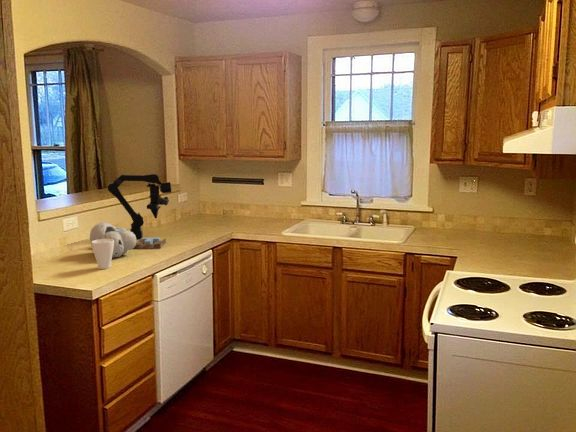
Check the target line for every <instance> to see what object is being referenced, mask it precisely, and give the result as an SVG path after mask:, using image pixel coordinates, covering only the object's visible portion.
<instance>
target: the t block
mask: <svg viewBox="0 0 576 432" xmlns="http://www.w3.org/2000/svg"><path fill="white" fill-rule="evenodd" d="M141 239H142V241H144V244H154V243H156V242H157V241H161V237H158V236H157V237H142V238H141Z"/></svg>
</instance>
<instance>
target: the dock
mask: <svg viewBox="0 0 576 432" xmlns="http://www.w3.org/2000/svg"><path fill="white" fill-rule="evenodd" d="M166 243H167V239H166V238H164V239H162V240H160V241H157V242H156V243H154V244H144V241H142V238H141V239H138V241H136V245H135V247H134V248H133V249H134V250H139V249H140V250H143V249H144V250H145V249H146V250H148V249H151V250H152V249H157V250H158V249H162V248H163V247H164V246H165V245H166Z"/></svg>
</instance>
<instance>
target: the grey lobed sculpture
mask: <svg viewBox="0 0 576 432" xmlns="http://www.w3.org/2000/svg"><path fill="white" fill-rule="evenodd" d="M115 228H116V227H115V226H114V225H113V224H111V223H109V222H105V221H103V222H99V223H97V224H95V225H94V226H92V228H91V231H90V233H89V241H90V245H91V247H92V243H91V242H92V241H94V240H99V239H113V240H114V248H113V254H112V259H113V258H119V257H121V256H122V255H125V254H126V253H127V252H128V251H131V250H133V249H134V247H135V245H136V243H137V242H138V241H137V240H138V239H136V236H135V234H133V232H130V230H127V229H126V230H123V231H121V232H119V233H118V232H117V230H116V229H115Z"/></svg>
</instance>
